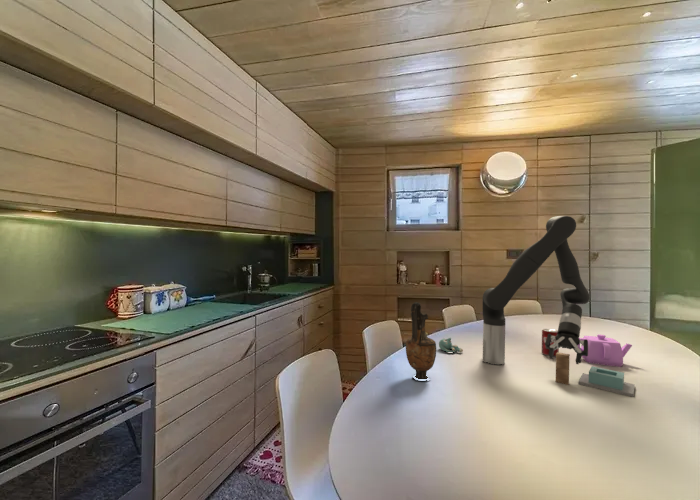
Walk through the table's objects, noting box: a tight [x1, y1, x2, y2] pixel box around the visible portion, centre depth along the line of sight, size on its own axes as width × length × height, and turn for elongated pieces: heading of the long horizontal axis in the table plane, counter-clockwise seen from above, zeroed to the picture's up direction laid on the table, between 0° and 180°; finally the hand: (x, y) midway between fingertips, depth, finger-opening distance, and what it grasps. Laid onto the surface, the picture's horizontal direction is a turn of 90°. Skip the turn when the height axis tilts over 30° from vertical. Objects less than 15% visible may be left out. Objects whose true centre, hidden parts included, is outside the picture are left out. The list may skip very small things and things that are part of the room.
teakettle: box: [577, 333, 633, 368], centre depth 155 cm, size 17×17×12 cm
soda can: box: [541, 328, 560, 358], centre depth 163 cm, size 7×7×12 cm
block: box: [555, 351, 571, 386], centre depth 128 cm, size 4×2×11 cm, turn 48°
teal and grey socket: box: [577, 365, 636, 398], centre depth 126 cm, size 16×12×5 cm
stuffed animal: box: [438, 337, 464, 353], centre depth 166 cm, size 11×7×12 cm
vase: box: [405, 301, 437, 379], centre depth 129 cm, size 12×12×30 cm
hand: (563, 360), depth 129 cm, fingers open, 8 cm apart
